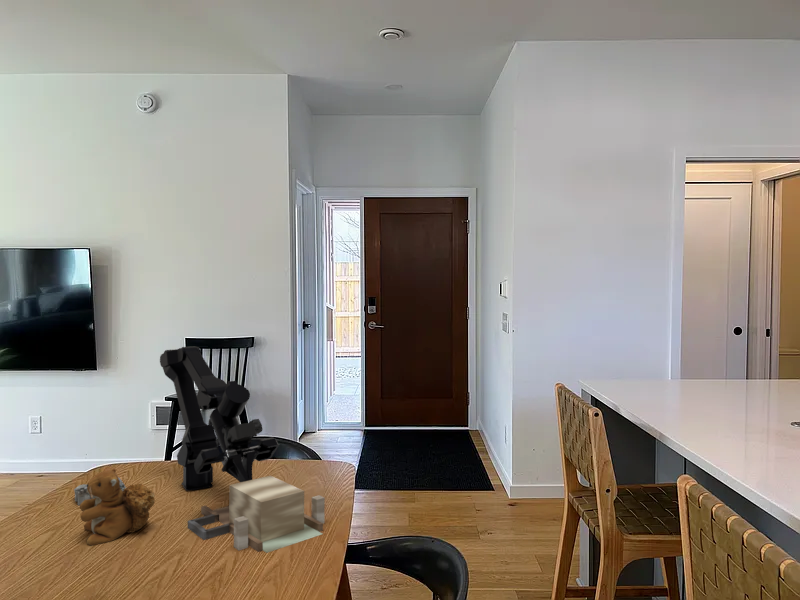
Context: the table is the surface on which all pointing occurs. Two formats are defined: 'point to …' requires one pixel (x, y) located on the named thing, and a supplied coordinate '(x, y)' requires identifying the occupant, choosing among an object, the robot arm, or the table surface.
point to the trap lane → (244, 538)
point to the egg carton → (83, 495)
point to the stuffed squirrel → (114, 507)
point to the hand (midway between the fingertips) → (250, 487)
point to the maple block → (267, 507)
